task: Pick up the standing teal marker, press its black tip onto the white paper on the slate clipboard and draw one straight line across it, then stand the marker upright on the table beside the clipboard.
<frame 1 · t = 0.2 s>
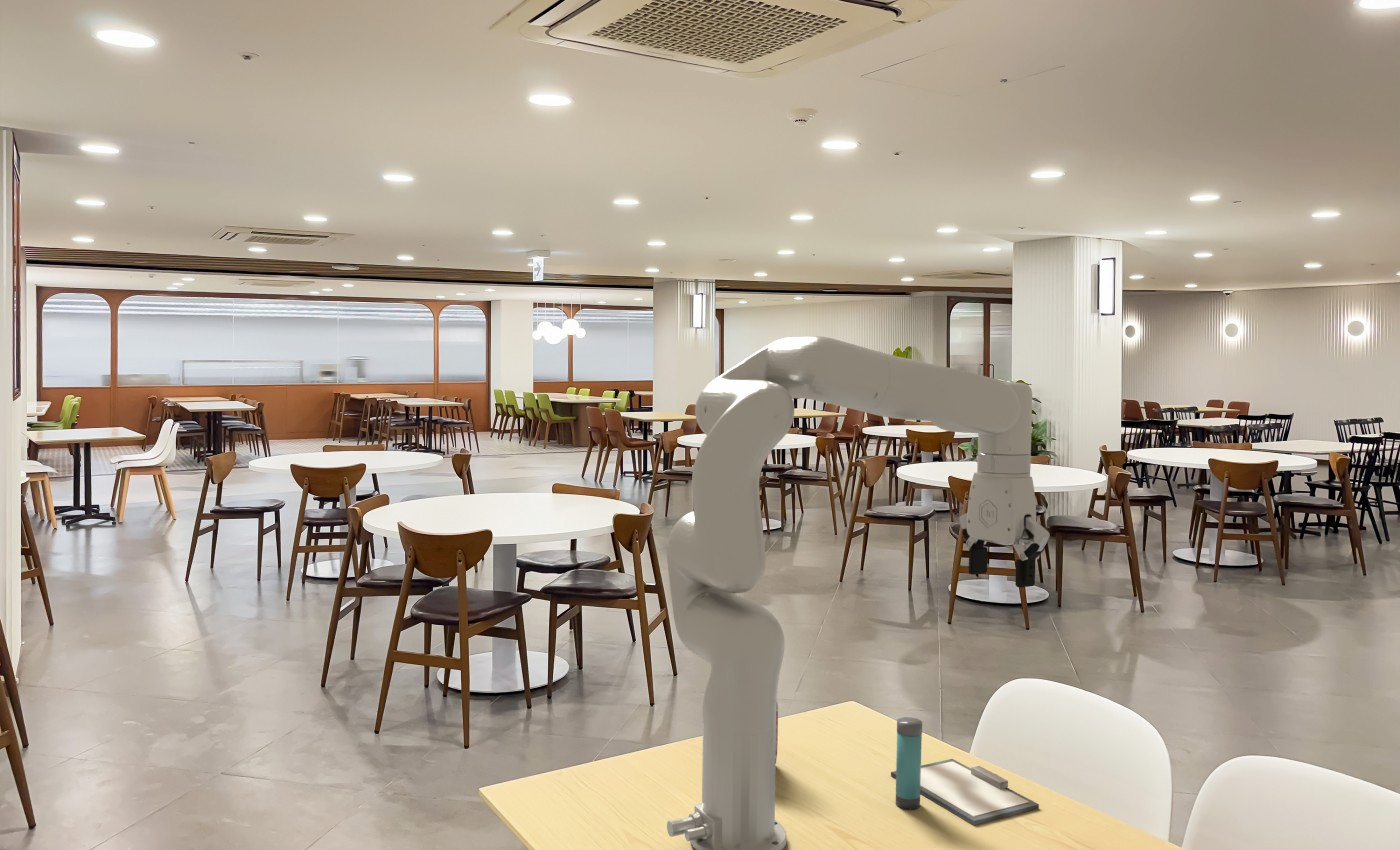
hand: (1000, 579, 147), 31 cm above the table, tool pointing down, fingers open, 9 cm apart
marker: (907, 804, 140), on the table
soda can: (754, 767, 153), on the table
clipboard: (962, 791, 144), on the table
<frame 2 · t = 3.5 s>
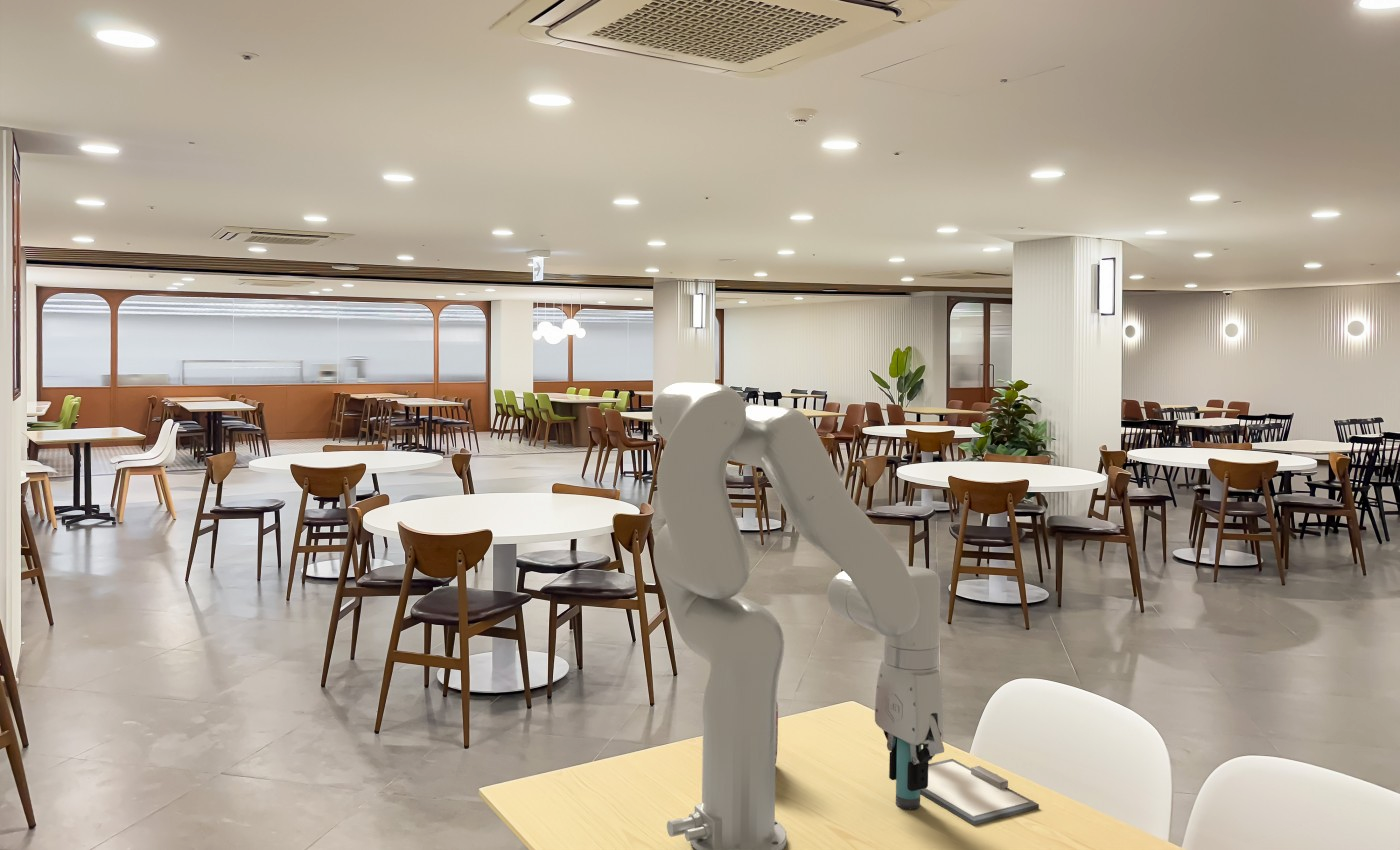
hand: (908, 782, 139), 3 cm above the table, tool pointing down, fingers closed on marker, 3 cm apart
marker: (907, 804, 140), on the table, touching gripper
everything else where it was.
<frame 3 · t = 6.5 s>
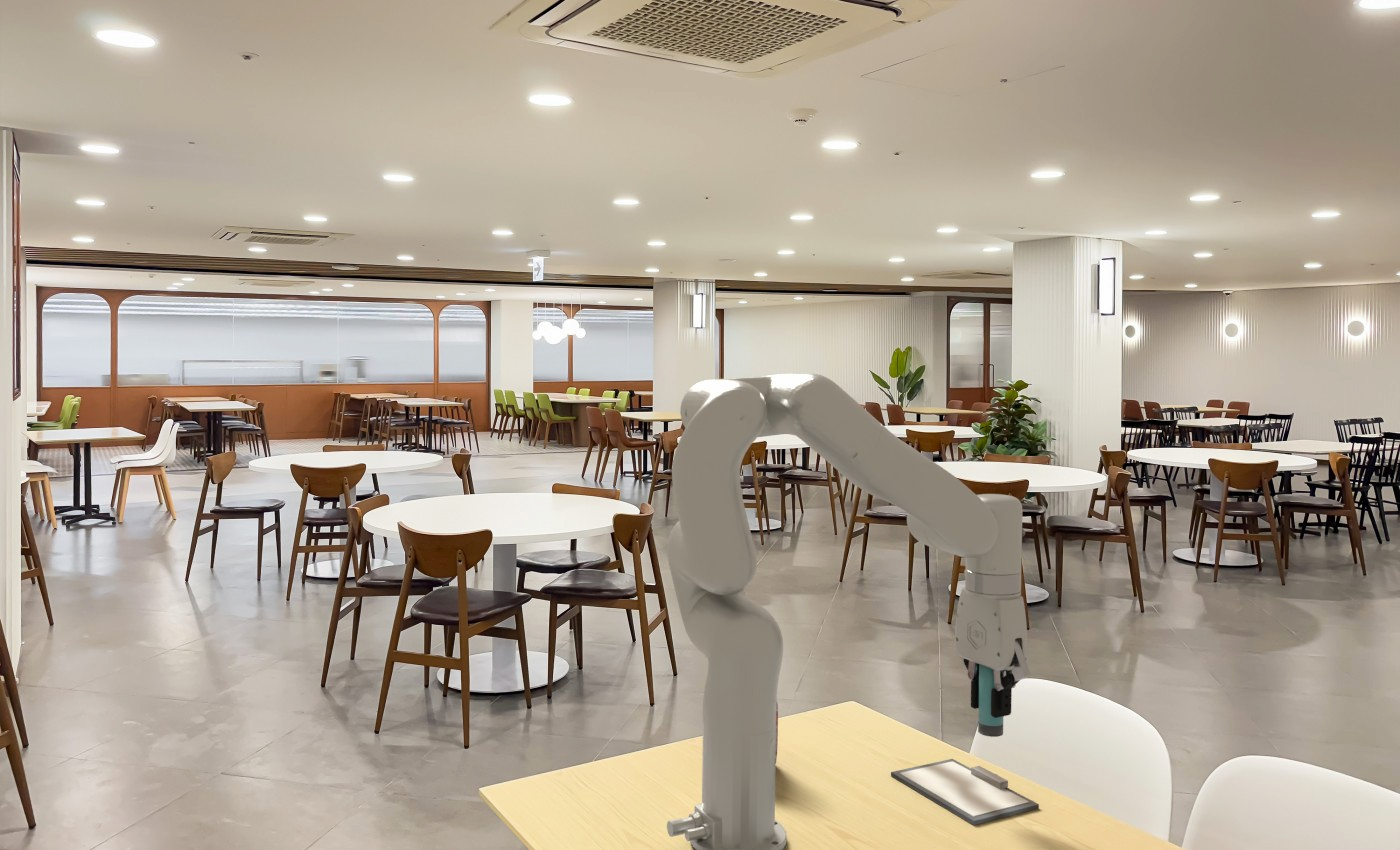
hand: (990, 709, 139), 14 cm above the table, tool pointing down, fingers closed on marker, 3 cm apart
marker: (990, 732, 139), point 11 cm above the table, touching gripper
everything else where it was.
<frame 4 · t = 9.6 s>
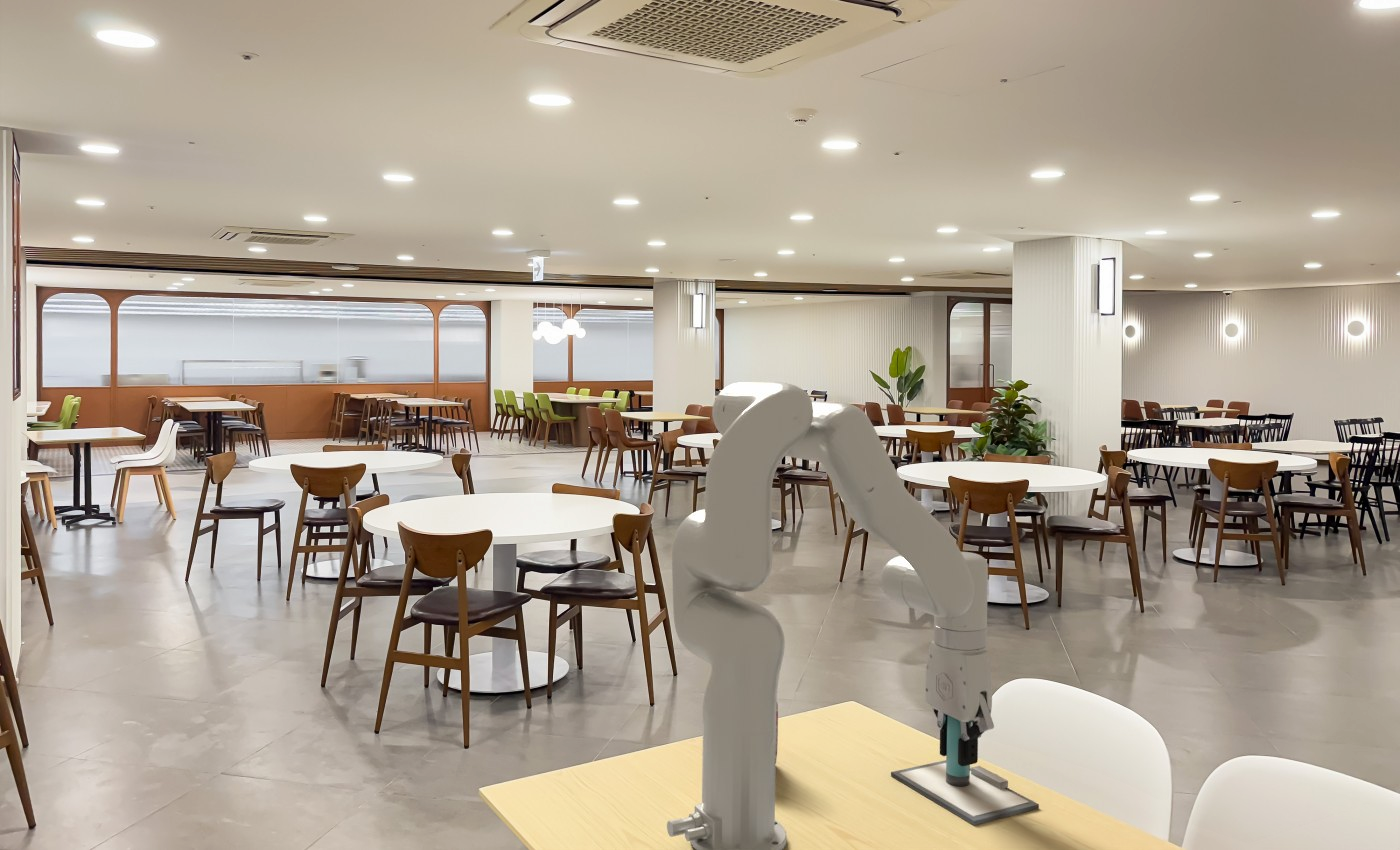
hand: (958, 757, 146), 4 cm above the table, tool pointing down, fingers closed on marker, 3 cm apart
marker: (957, 782, 146), point 1 cm above the table, touching gripper
everything else where it was.
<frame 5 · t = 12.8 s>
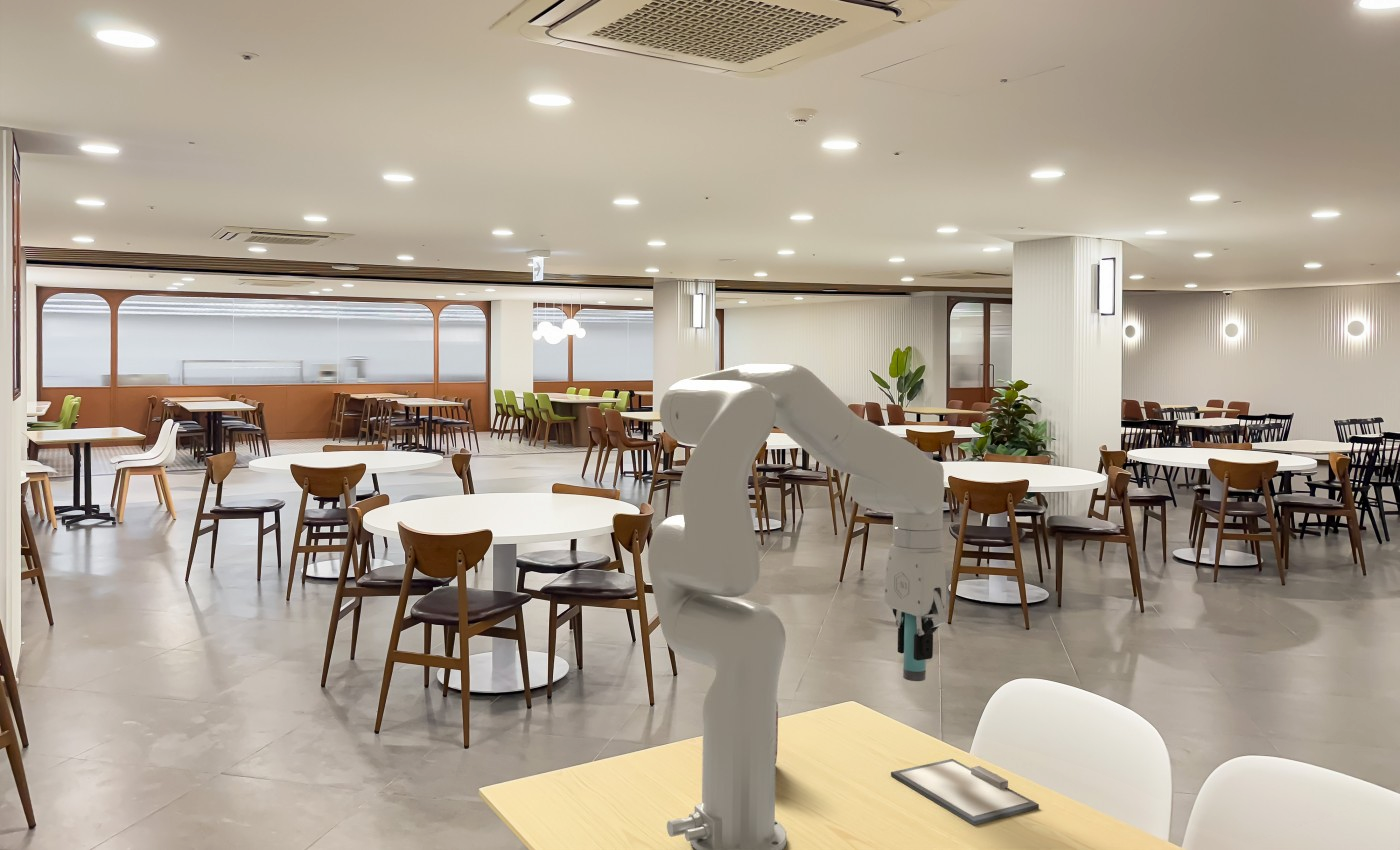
hand: (914, 654, 153), 17 cm above the table, tool pointing down, fingers closed on marker, 3 cm apart
marker: (914, 677, 154), point 14 cm above the table, touching gripper
everything else where it was.
when the fingers open (4 cm above the table, at t = 15.8 s): marker stays where it is, on the table.
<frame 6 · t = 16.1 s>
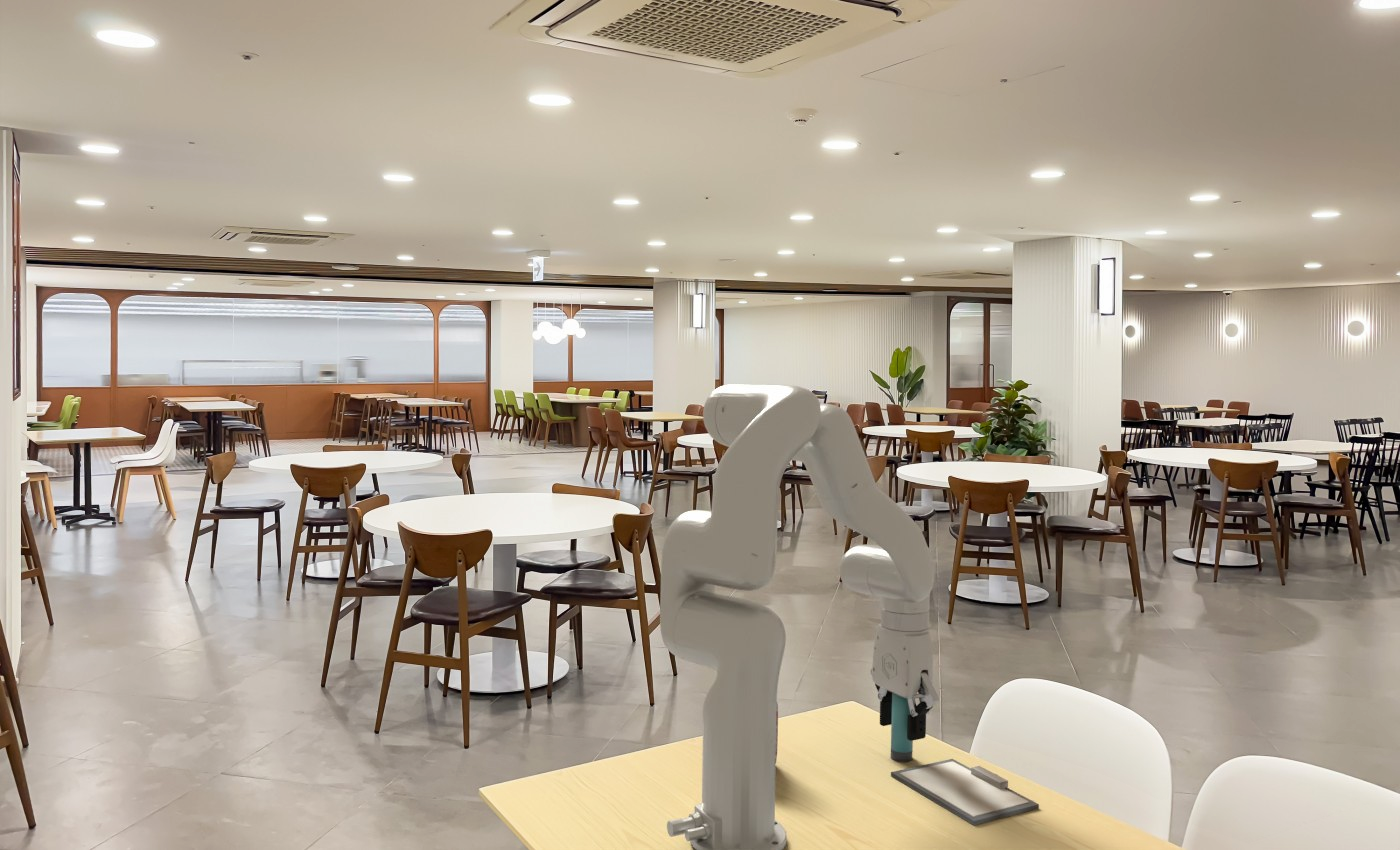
hand: (902, 730, 156), 4 cm above the table, tool pointing down, fingers open, 6 cm apart
marker: (901, 757, 157), on the table
everything else where it was.
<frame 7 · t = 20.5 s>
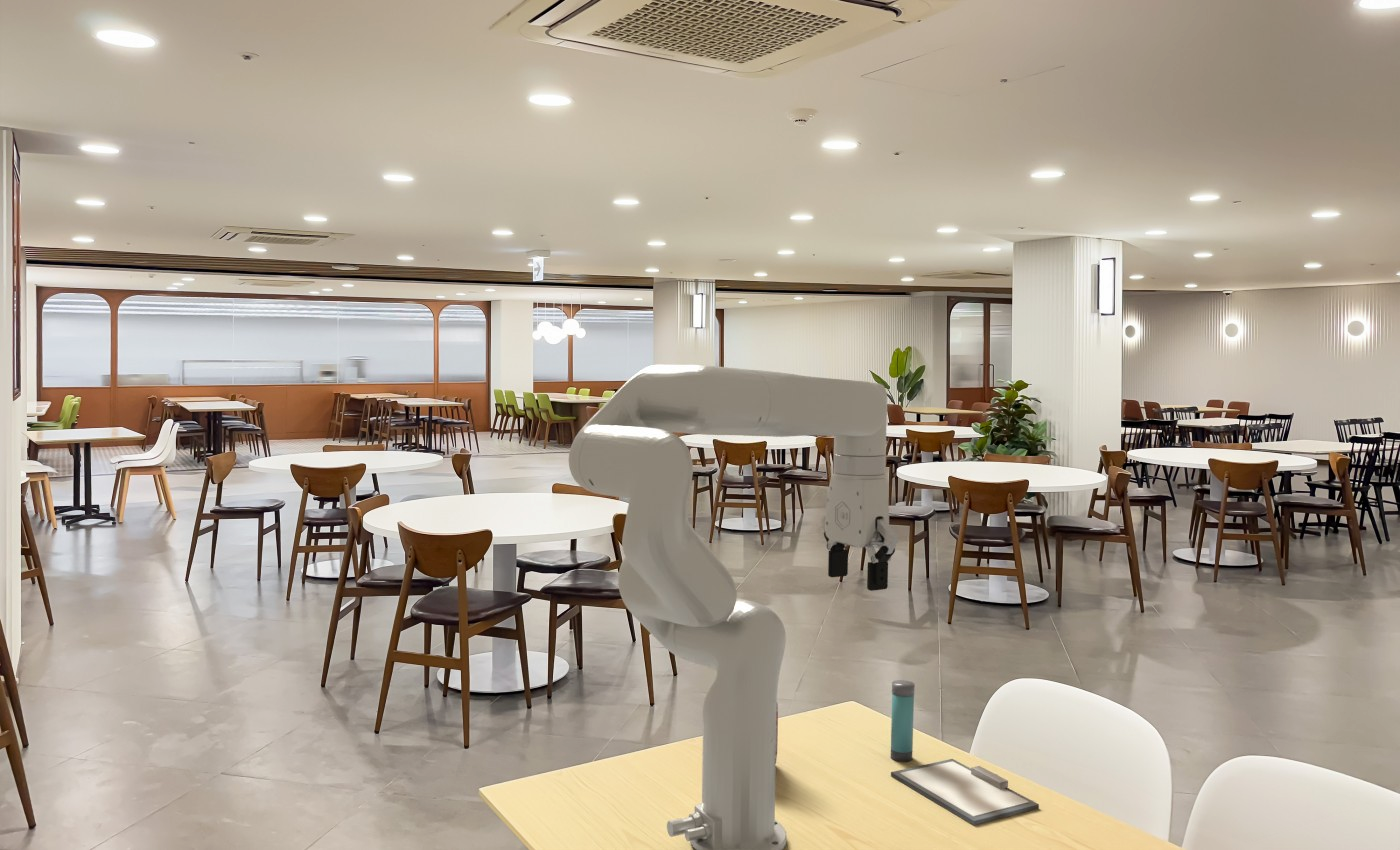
hand: (857, 582, 145), 30 cm above the table, tool pointing down, fingers open, 9 cm apart
nothing on the table moved.
at the end: marker moved 17.2 cm from its start; marker inside the target area (0.1 cm from its centre), on the table; marker tilted 0° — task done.
